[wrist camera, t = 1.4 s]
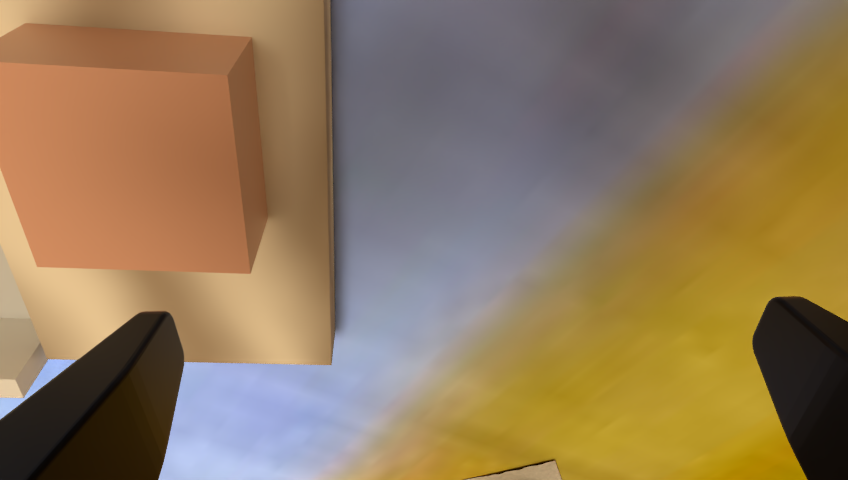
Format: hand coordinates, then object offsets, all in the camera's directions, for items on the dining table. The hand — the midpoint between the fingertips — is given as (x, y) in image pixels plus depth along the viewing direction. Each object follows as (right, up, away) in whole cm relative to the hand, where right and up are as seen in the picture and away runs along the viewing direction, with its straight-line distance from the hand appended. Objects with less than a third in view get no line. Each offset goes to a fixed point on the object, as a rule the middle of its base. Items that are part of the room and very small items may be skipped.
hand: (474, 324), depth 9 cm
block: (-9, +5, +9) cm, 13 cm away
